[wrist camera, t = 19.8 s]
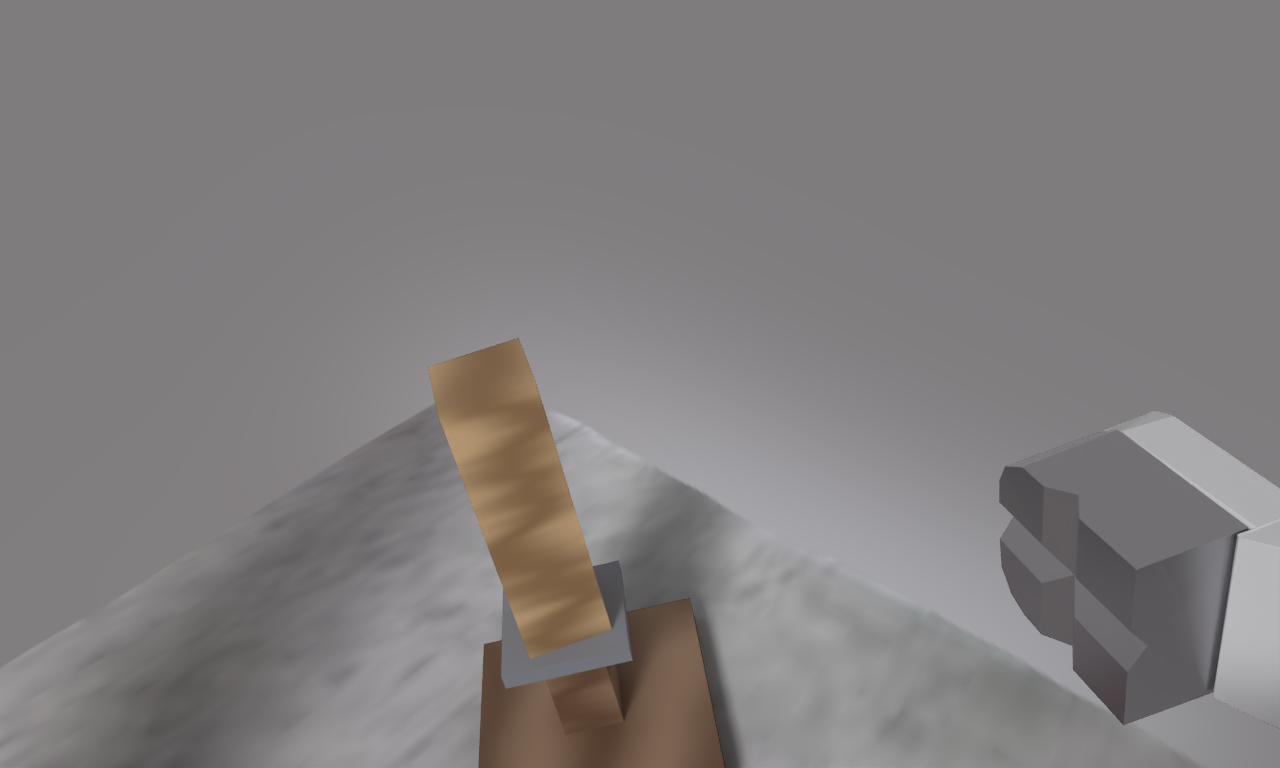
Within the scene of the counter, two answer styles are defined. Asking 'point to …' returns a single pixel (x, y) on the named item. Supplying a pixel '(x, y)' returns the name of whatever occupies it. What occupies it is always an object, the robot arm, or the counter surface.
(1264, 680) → the robot arm
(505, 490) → the wooden rod
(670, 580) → the counter surface
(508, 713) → the pedestal
